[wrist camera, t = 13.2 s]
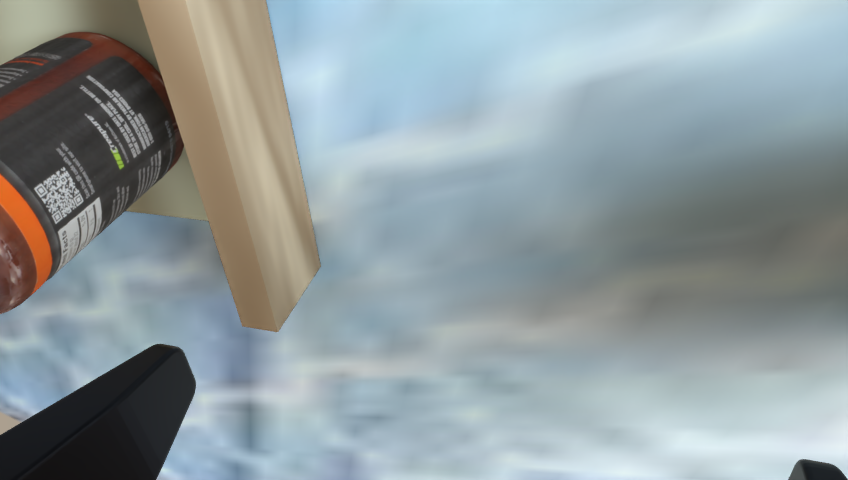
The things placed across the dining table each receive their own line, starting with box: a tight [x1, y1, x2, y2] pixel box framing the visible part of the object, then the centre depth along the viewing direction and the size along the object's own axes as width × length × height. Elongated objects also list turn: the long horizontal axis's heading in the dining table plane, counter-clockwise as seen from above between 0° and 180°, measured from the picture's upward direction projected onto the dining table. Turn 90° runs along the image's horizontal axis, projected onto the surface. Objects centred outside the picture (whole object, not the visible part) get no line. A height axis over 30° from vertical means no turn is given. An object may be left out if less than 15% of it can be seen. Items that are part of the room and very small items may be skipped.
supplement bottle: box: [0, 32, 184, 314], centre depth 20 cm, size 6×6×11 cm
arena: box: [0, 0, 321, 332], centre depth 23 cm, size 14×16×4 cm
